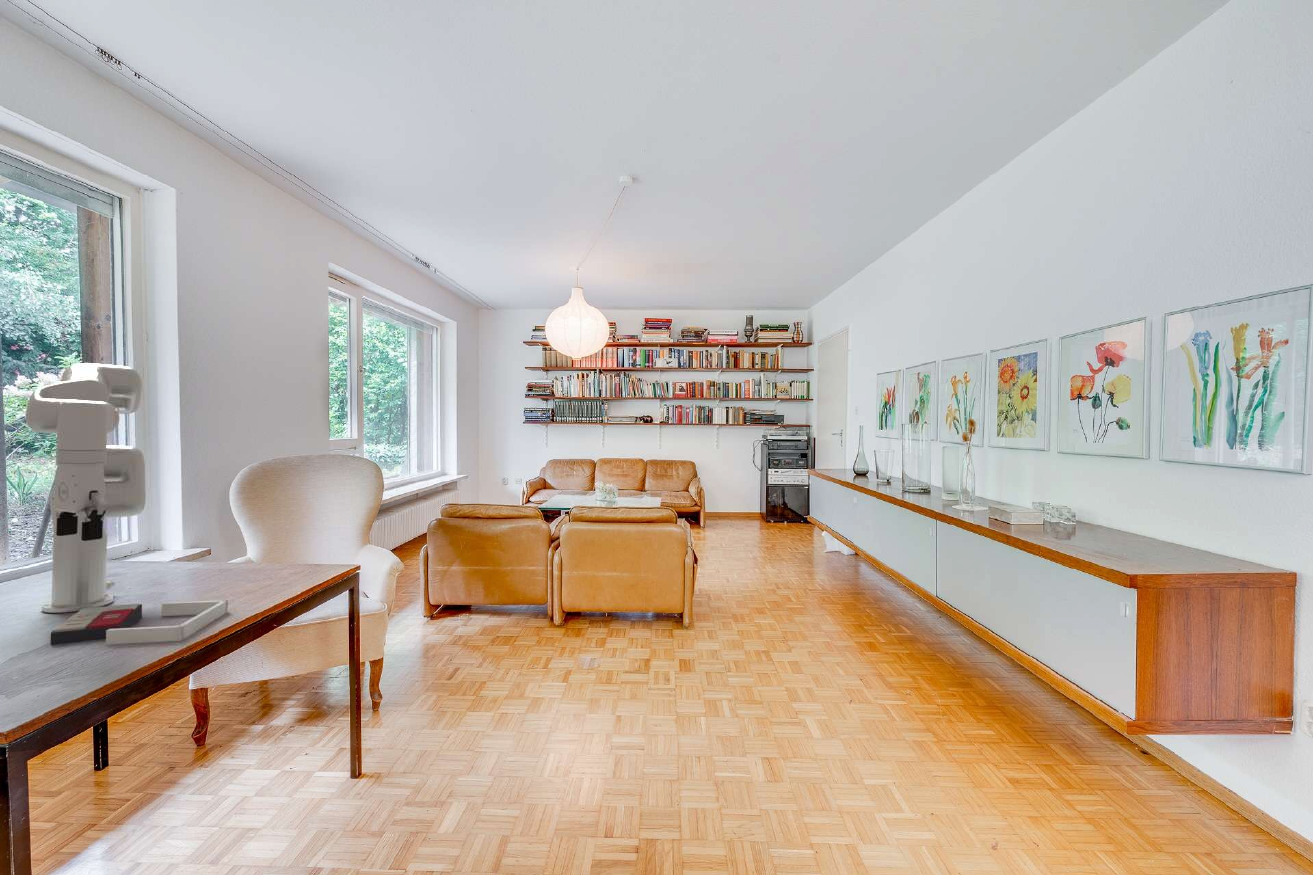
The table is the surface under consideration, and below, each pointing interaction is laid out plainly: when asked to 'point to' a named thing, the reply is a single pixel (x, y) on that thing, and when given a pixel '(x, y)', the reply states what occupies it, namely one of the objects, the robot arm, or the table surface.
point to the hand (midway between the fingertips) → (79, 537)
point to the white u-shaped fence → (171, 633)
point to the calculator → (95, 623)
